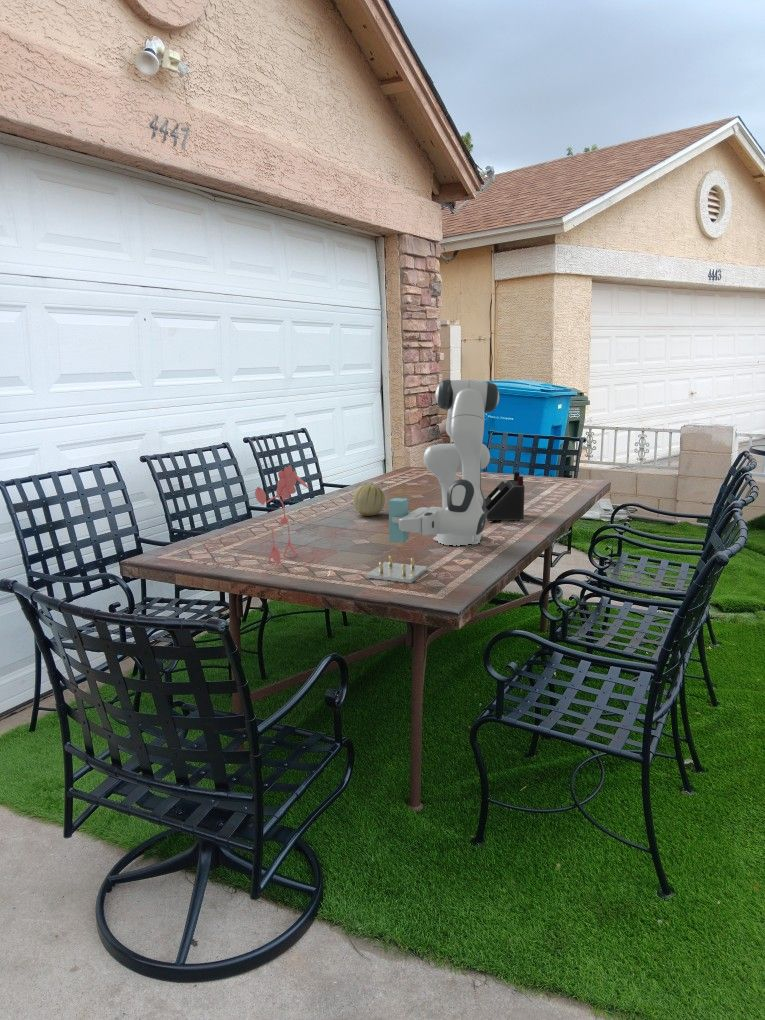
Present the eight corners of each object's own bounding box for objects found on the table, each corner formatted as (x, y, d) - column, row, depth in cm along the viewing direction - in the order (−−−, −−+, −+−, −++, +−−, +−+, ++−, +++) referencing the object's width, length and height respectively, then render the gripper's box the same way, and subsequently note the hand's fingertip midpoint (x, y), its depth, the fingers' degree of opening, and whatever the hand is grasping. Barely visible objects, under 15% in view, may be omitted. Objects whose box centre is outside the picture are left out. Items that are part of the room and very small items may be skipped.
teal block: (394, 538, 249) (394, 497, 246) (408, 539, 247) (408, 498, 244) (389, 541, 244) (388, 500, 241) (403, 542, 242) (402, 501, 239)
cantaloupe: (350, 518, 331) (349, 486, 328) (356, 511, 345) (355, 480, 342) (382, 519, 329) (382, 486, 325) (387, 512, 343) (387, 480, 340)
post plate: (384, 565, 258) (384, 552, 257) (427, 569, 252) (427, 556, 251) (366, 578, 244) (365, 564, 243) (410, 583, 238) (410, 569, 237)
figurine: (251, 567, 258) (248, 469, 250) (294, 550, 280) (292, 459, 272) (286, 574, 251) (284, 473, 243) (328, 555, 273) (327, 463, 265)
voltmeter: (482, 514, 335) (482, 471, 330) (518, 514, 334) (519, 471, 330) (485, 523, 319) (486, 477, 315) (523, 522, 318) (524, 477, 314)
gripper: (445, 504, 247) (407, 501, 253) (425, 517, 229) (384, 514, 234) (445, 522, 249) (407, 519, 254) (425, 537, 230) (384, 533, 236)
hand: (396, 517), depth 244 cm, fingers closed on teal block, 5 cm apart
